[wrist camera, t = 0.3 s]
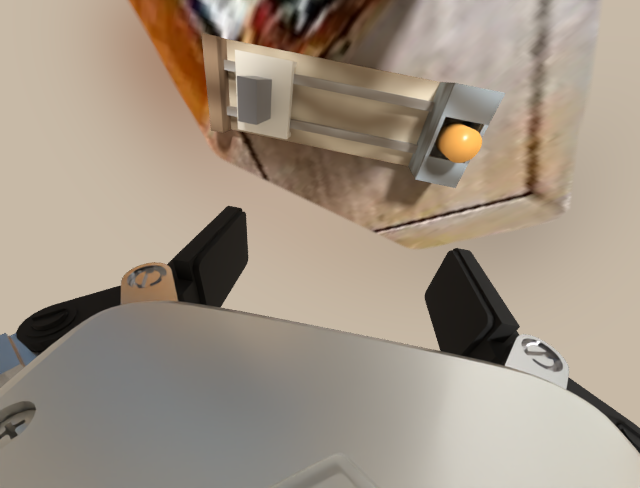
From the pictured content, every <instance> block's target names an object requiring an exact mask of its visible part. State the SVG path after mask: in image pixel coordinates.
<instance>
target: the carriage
mask: <svg viewBox="0 0 640 488" xmlns="http://www.w3.org/2000/svg"><path fill="white" fill-rule="evenodd" d="M296 64H297V62H294V61H289V60H284V59H279V58H274V57H270V56H265V55H260V54H255V53H250V52H245V51H240V50H235V69H236V95H237V121H238V129H239V130H244V131H248V132H253V133H258V134H263V135H268V136H272V137H277V138H282V139H288V138H289V137H290V136H291V132H290V119H291V107H292V94H293V82H294V69H295V67H296Z"/></svg>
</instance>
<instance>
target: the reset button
mask: <svg viewBox="0 0 640 488" xmlns="http://www.w3.org/2000/svg"><path fill="white" fill-rule="evenodd" d="M435 144H436V147H437V149H438V150H439V151H440V152H442V153H443V154H444V155H445V156H446V157H447V158H448V159H449V160H450V161H452V162H455V163H463V162H466V161H468V160H470V159H472V158H473V157H474V156H475V155H476V154H477V153H478V151H479V150H480V148H481V144H482V138H481V135H480V134H479V132H478V131H476V130H474V129H472V128H470V127H467V126H465V125H463V124H461V123H458V122H452V123H449V124H447V125H445V126H443V127H442V128H441V129H440V131H439V134H438V136H437V138H436V141H435Z"/></svg>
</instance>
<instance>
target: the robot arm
mask: <svg viewBox="0 0 640 488" xmlns="http://www.w3.org/2000/svg"><path fill="white" fill-rule="evenodd" d="M247 262H248V245H247V226H246V213H245V212H242V209H241V208H237V207H232V206H227V207H226V208H225V209H224V210H223V211H222V212H221V213H220V214H219V215H218V216H217V217H216V218H215V219H214V220H213V221H212V222H211V223H210V224H208V225H207V226H206V227H205V228H204V229H203V230H202V231H201V232H200V233H199V234H198V235H197V236H196V237H195V238H194V239H193V240H192V241H191V242H190V243H189V244H188V245H187V246H186V247H185V248H183V249H182V250H181V251H180V252H179V253H178V254H177V255H176V256H175V257H174V258H173V259H172V260H171V261H170V262H169V263H168V264H167V265H166V264H163V263H155V262H154V263H146V264H143V265H140V266H137V267H135V268H133V269H131V270H130V271H128V272H127V273H126V274H125V275H124V276H123V278H122V281H121V286H117V287H114V288H110V289H107V290H104V291H100V292H96V293H93V294H90V295H86V296H83V297H79V298H76V299H73V300H69V301H66V302H62V303H59V304H55V305H52V306H49V307H47V308H44V309H42V310H40V311H38V312H36V313H34V314H33V315H31V316H30V317H29V318H27V319H26V320H25V321H24V322H23V323H22V324H21V325H20V326H19V328H18V330H17V332H16V333H15V334H13V335H11V336H8V335H7V334H6V333H4V334H2V335H0V488H640V428H639V427H638V426H637V425H635V424H634V423H632V422H631V421H630V420H628V419H627V418H625V417H624V416H622V415H621V414H620V413H618V412H617V411H616V410H614V409H613V408H611V407H610V406H608V405H607V404H606V403H604V402H603V401H601V400H600V399H598V398H597V397H596V396H594V395H593V394H591V393H590V392H589V391H587V390H586V389H584V388H583V387H581V386H580V385H579V384H577V383H576V382H574V381H573V380H571V379H570V378H569V377H568V376H569V367H568V365H567V363H566V361H565V359H564V358H563V357H562V356H561V354H560V353H559V352H558V351H557V350H555V349H554V348H553V347H552V346H551V345H549V344H548V343H546V342H545V341H543V340H541V339H539V338H537V337H534V336H531V335H526V334H523V335H519V334H518V332H517V331H516V330H517V329H518V328H519V327H520V326H519V325H518V323H517V321H516V320H515V319H514V317H513V315H512V314H511V312H510V311H509V309H508V308H507V306H506V305H505V303H504V302H503V300H502V299H501V297H500V296H499V294H498V292H497V291H496V289H495V288H494V286H493V285H492V283H491V282H490V280H489V279H488V277H487V276H486V274H485V273H484V271H483V269H482V268H481V266H480V265H479V263H478V262H477V260H476V259H475V257H474V256H473V254H472V253H471V252H470V251H468V250H464V249H458V248H455V249H453V250H452V251H449V252H448V253H447V255H446V257H445V258H444V260H443V262H442V264H441V266H440V268H439V269H438V271H437V273H436V275H435V276H434V278H433V280H432V282H431V284H430V285H429V287H428V289H427V290H426V293H425V301H426V305H427V308H428V311H429V314H430V318H431V321H432V324H433V327H434V331H435V334H436V338H437V341H438V344H439V347H440V350H441V351H437V350H432V349H427V348H423V347H418V346H413V345H408V344H403V343H398V342H393V341H389V340H383V339H379V338H373V337H369V336H363V335H359V334H353V333H349V332H344V331H339V330H334V329H329V328H323V327H319V326H314V325H308V324H304V323H299V322H293V321H288V320H283V319H278V318H273V317H267V316H262V315H257V314H252V313H247V312H242V311H236V310H230V309H225V308H220V307H221V306H222V304H223V302H224V301H225V299H226V297H227V296H228V294H229V293H230V291H231V289H232V288H233V286H234V284H235V282H236V281H237V279H238V278H239V276H240V274H241V273H242V271H243V270H244V268H245V266H246V264H247Z"/></svg>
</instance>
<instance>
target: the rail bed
mask: <svg viewBox="0 0 640 488" xmlns="http://www.w3.org/2000/svg"><path fill="white" fill-rule="evenodd" d="M202 44H203V54H204V64H205V74H206V84H207V94H208V104H209V114H210V124H211V130H212V131H217V132H221V133H224V132H226V131H229V130H236V131H241V132H245V133H250V134H255V135H260V136H265V137H270V138H274V139H279V140H284V141H289V142H294V143H298V144H303V145H308V146H313V147H318V148H323V149H327V150H332V151H337V152H342V153H347V154H351V155H356V156H361V157H366V158H371V159H376V160H380V161H385V162H390V163H395V164H400V165H405V166H408V167H409V169H410V171H411V172H412V174H413V176H414V178H415V180H420V181H425V182H429V183H434V184H439V185H444V186H449V187H454V188H456V186H457V184H458V182H459V180H460V178H461V176H462V175H463V173H464V171H465V169H466V167H467V165H468V163H469V161H470V160H468V161H466V162H463V163H455V162H452V161H450V160H449V159H448V158H447V157H446V156H445V155H444V154H443V153H442V152H440V151H439V150H438V149H437V147H436V144H435V141H436V138H437V136H438V134H439V131H440V129H441V128H442V127H443V126H445V125H447V124H449V123H452V122H458V123H461V124H463V125H465V126H467V127H470V128H472V129H474V130H476V131H478V132H479V134H480V135H481V138H482V137H483V135H484V133H485V131H486V129H487V127H488V125H489V123H490V121H491V120H492V118H493V116H494V114H495V112H496V110H497V108H498V106H499V104H500V103H501V101H502V99H503V97H504V95H505V93H502V92H497V91H492V90H487V89H482V88H477V87H473V86H468V85H463V84H458V83H446V82H437V81H432V80H427V79H422V78H417V77H412V76H407V75H402V74H397V73H392V72H387V71H382V70H377V69H372V68H367V67H362V66H357V65H352V64H348V63H343V62H338V61H333V60H328V59H323V58H318V57H313V56H308V55H303V54H298V53H293V52H288V51H283V50H278V49H273V48H268V47H263V46H258V45H253V44H248V43H243V42H238V41H233V40H228V39H224V38H221V37H217V36H213V35H208V34H203V33H202ZM235 50H240V51H245V52H250V53H255V54H260V55H265V56H270V57H274V58H279V59H284V60H289V61H294V62H297V64H296V67H295V69H294V82H293V94H292V107H291V119H290V132H291V136H290V137H289V138H288V139H282V138H277V137H272V136H268V135H263V134H258V133H253V132H248V131H244V130H239V129H238V121H237V95H236V69H235Z"/></svg>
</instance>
